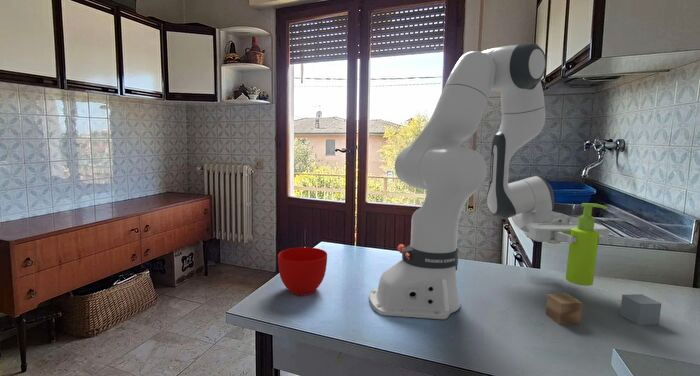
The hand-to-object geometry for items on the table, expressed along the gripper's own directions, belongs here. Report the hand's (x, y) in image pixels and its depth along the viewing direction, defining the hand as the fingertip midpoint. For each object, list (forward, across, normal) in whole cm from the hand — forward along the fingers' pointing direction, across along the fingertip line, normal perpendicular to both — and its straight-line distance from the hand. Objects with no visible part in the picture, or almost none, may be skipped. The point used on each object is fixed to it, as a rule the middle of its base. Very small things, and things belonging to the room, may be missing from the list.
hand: (587, 240), depth 90 cm
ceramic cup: (-13, -70, +17) cm, 73 cm away
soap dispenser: (-1, 0, +11) cm, 11 cm away
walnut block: (+7, -10, +17) cm, 21 cm away
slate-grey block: (+8, +8, +17) cm, 20 cm away
